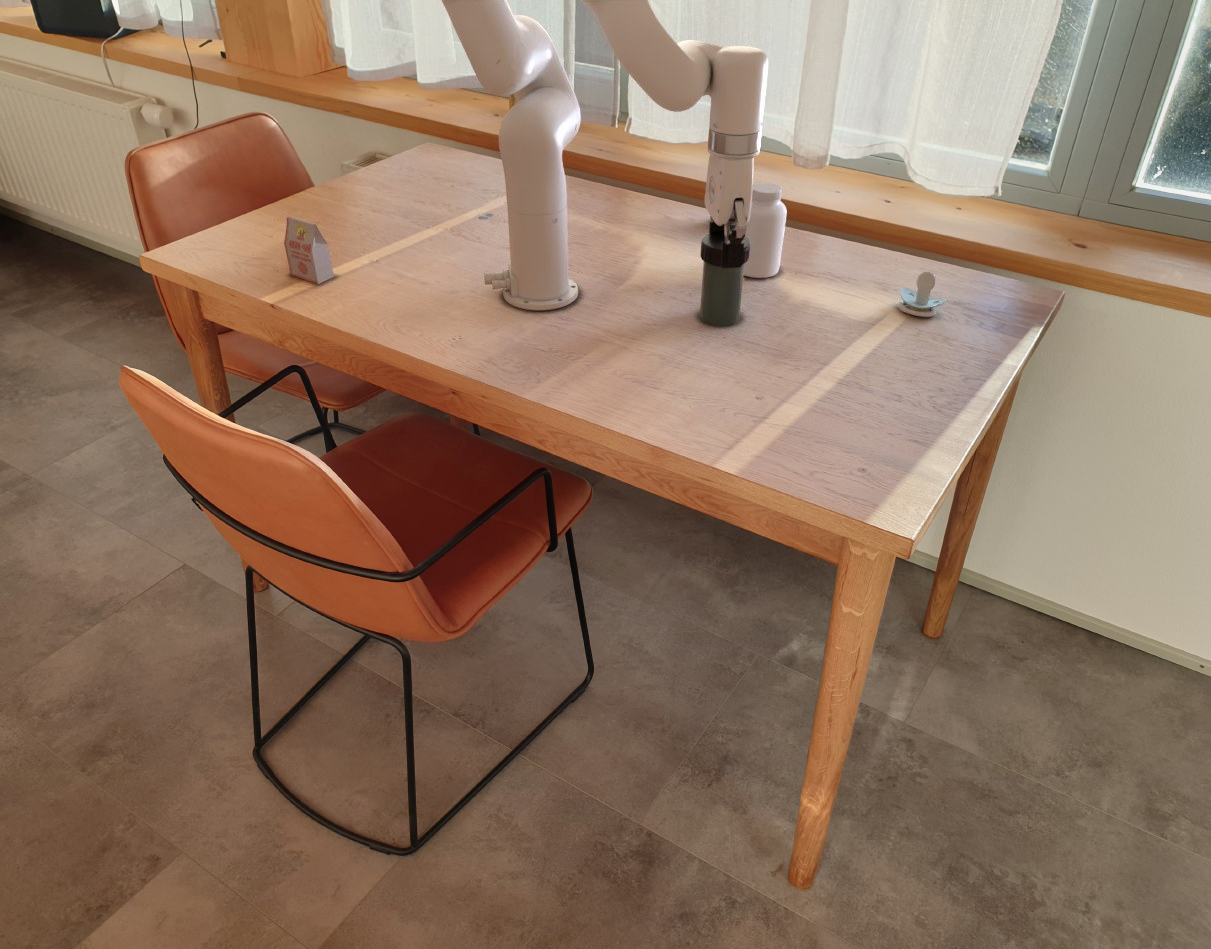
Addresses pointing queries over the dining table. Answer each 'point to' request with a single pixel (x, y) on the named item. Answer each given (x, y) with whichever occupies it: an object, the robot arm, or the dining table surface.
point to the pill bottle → (765, 230)
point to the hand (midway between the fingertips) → (724, 255)
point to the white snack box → (307, 252)
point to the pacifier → (920, 297)
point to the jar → (721, 294)
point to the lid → (718, 248)
